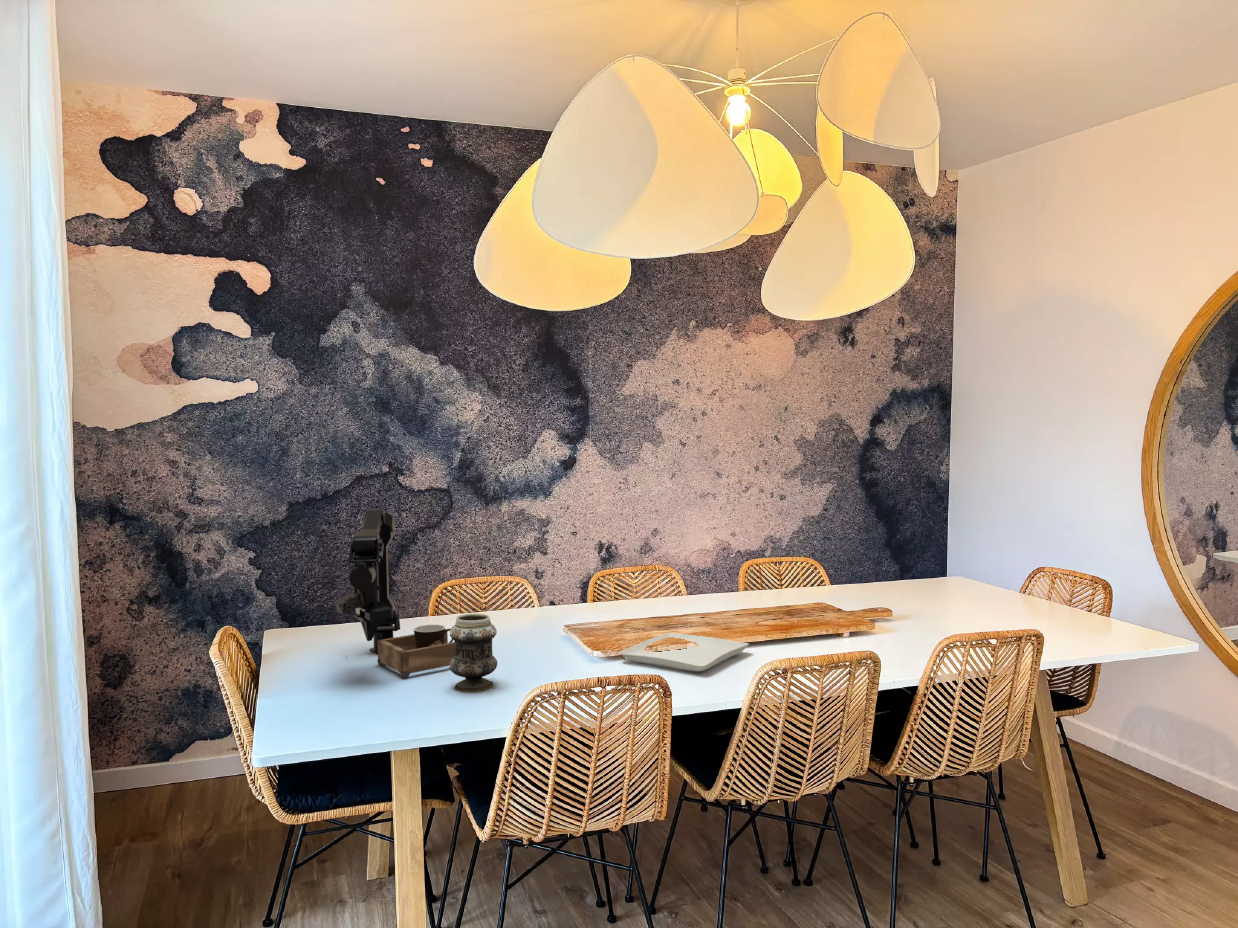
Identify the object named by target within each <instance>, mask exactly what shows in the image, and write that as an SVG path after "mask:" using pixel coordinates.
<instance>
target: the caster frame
mask: <svg viewBox="0 0 1238 928" xmlns="http://www.w3.org/2000/svg"><path fill="white" fill-rule="evenodd" d="M445 630H446V628H445ZM448 635H449V634H448V631H447V632H446V633H445V636H444V644H440V645H435V646H429V647H424V648H419V649H416V642H415V636H414V633H412V634H408V635H401V636H396V637H394V636H393V637H394V638H389V639H383V640H378V654H377V664H378V665H379V666H384V665H385V666H386V667H388V668H390V669H392V670H393V671H396V672H398V673H400V676H401V677H402V678H404V679H406V678H408V677H409V676H410V674H414V673H419V672H424V671H430V670H434V669H435V670H436V669H440V668H444V667H448V666H449V665H450V661H451V660H452V659H453V658H454V653H455V641H452V642H451V643H449V641H448V640H449V639H448Z"/></svg>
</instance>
